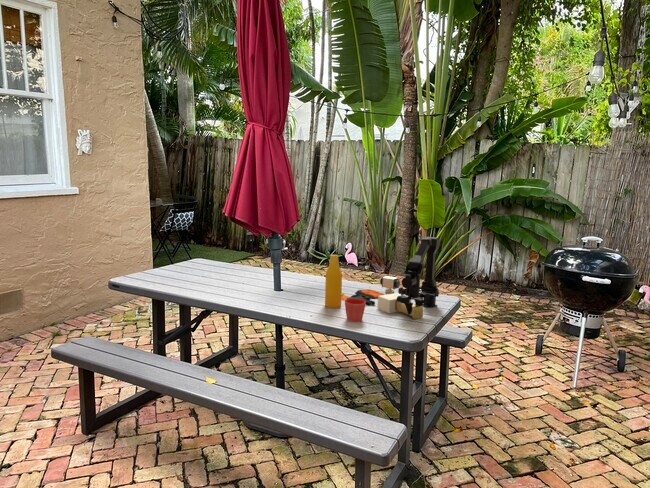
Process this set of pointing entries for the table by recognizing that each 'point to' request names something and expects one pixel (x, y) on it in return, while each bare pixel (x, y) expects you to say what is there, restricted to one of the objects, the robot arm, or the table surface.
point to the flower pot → (354, 309)
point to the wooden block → (415, 311)
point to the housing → (388, 302)
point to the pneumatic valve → (389, 284)
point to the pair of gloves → (364, 296)
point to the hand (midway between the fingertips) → (412, 313)
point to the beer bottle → (333, 283)
